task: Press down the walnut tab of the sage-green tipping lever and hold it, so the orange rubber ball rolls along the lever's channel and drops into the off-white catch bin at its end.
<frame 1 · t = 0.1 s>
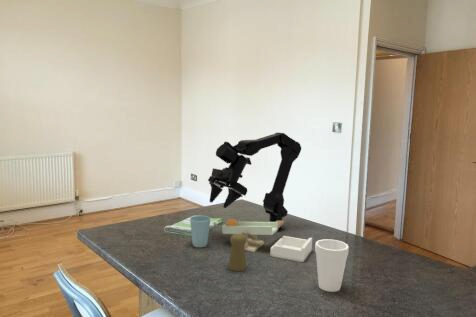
hand: (217, 204, 146), 15 cm above the countertop, tool tilted 35°, fingers open, 9 cm apart
dish towel: (194, 228, 167), on the countertop
cup: (199, 245, 145), on the countertop
ball: (232, 223, 147), point 7 cm above the countertop, tilted 5°, touching lever
catch bin: (291, 253, 139), on the countertop
olive knobbed post: (237, 267, 126), on the countertop
lever: (254, 224, 149), point 7 cm above the countertop, hinge at 8.0°, touching ball
foam cup: (329, 287, 114), on the countertop
lever stand: (249, 245, 145), on the countertop
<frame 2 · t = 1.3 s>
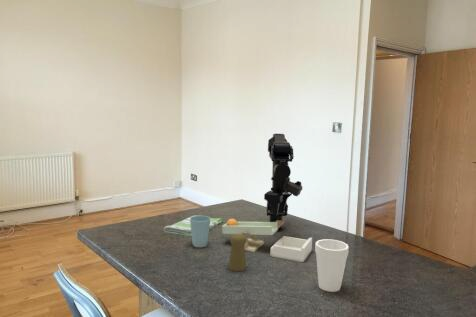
hand: (278, 213, 150), 11 cm above the countertop, tool pointing down, fingers open, 8 cm apart
nothing on the countertop moved.
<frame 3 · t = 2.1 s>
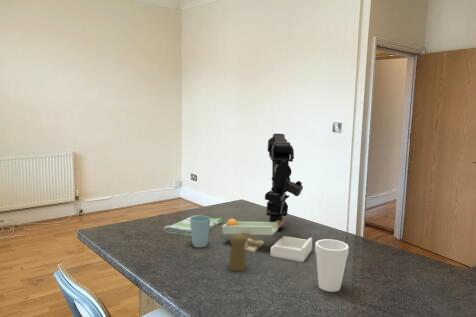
hand: (279, 213, 150), 11 cm above the countertop, tool pointing down, fingers closed
nothing on the countertop moved.
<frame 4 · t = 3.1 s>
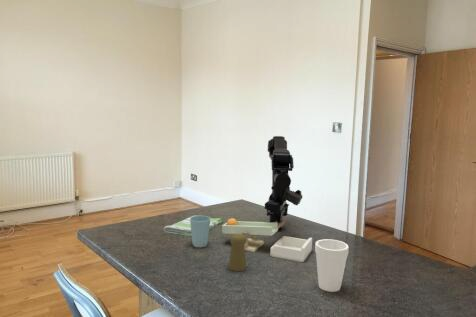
hand: (279, 222, 151), 7 cm above the countertop, tool pointing down, fingers closed, pressing on lever
lever: (254, 224, 149), point 7 cm above the countertop, hinge at 6.8°, touching ball, gripper
everything else where it was.
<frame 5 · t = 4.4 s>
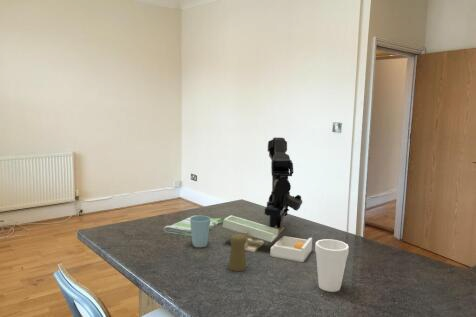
hand: (279, 227, 151), 5 cm above the countertop, tool pointing down, fingers closed, pressing on lever
ball: (299, 247, 137), point 3 cm above the countertop, tilted 64°, touching catch bin
lever: (255, 224, 149), point 7 cm above the countertop, hinge at -7.6°, touching gripper
everything else where it was.
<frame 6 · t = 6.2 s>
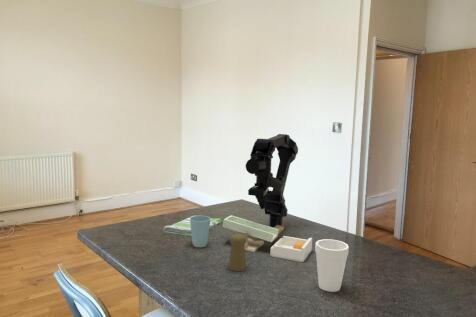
hand: (262, 208, 153), 12 cm above the countertop, tool pointing down, fingers closed
ball: (298, 247, 137), point 3 cm above the countertop, tilted 52°, touching catch bin
lever: (255, 224, 149), point 7 cm above the countertop, hinge at -7.6°
everything else where it was.
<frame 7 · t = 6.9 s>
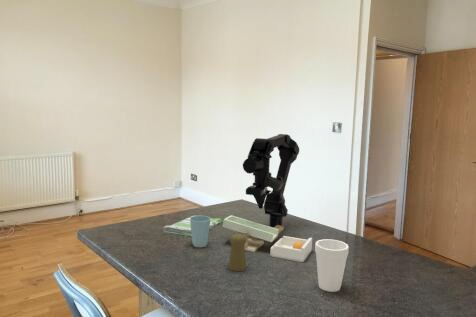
hand: (260, 208, 154), 12 cm above the countertop, tool pointing down, fingers closed
nothing on the countertop moved.
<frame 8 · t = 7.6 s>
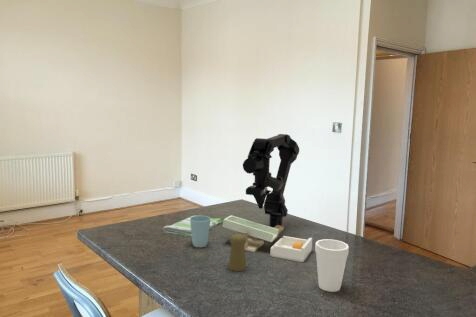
hand: (260, 208, 154), 12 cm above the countertop, tool pointing down, fingers closed
nothing on the countertop moved.
at the end: ball inside the target area (2.3 cm from its centre), point 2.8 cm above the countertop; lever at -8° (first picture: +8°) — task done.
